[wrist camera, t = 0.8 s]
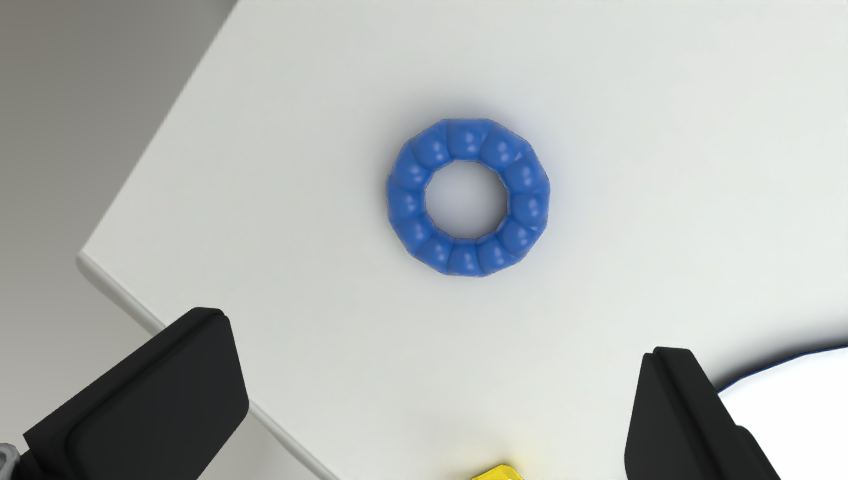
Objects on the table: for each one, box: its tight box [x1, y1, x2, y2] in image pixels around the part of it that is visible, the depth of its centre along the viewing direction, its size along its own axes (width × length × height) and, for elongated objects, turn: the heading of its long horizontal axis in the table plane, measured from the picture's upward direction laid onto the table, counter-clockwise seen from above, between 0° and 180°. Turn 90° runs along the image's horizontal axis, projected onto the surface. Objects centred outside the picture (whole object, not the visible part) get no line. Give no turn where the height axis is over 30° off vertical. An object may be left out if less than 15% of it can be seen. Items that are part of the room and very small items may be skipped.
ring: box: [386, 119, 550, 277], centre depth 24 cm, size 9×9×2 cm
